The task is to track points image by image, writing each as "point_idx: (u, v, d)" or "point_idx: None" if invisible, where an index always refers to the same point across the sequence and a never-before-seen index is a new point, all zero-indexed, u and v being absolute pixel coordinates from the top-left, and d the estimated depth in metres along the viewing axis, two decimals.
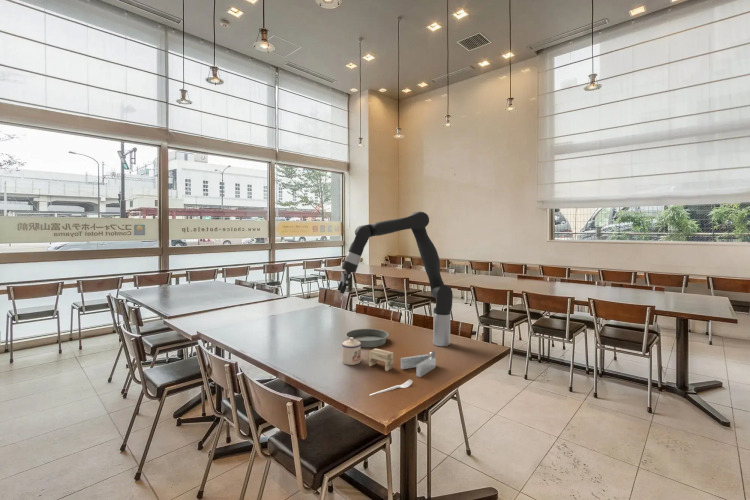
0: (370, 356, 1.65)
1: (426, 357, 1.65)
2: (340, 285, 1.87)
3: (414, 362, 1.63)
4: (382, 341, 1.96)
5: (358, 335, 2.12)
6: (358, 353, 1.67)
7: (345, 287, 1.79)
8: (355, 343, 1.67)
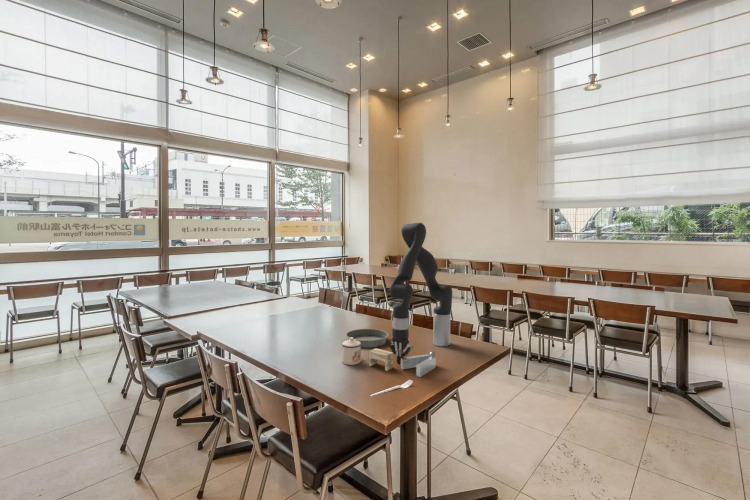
0: (370, 356, 1.65)
1: (426, 357, 1.65)
2: None
3: (414, 362, 1.63)
4: (382, 341, 1.96)
5: (358, 335, 2.12)
6: (358, 353, 1.67)
7: (403, 357, 1.64)
8: (355, 343, 1.67)
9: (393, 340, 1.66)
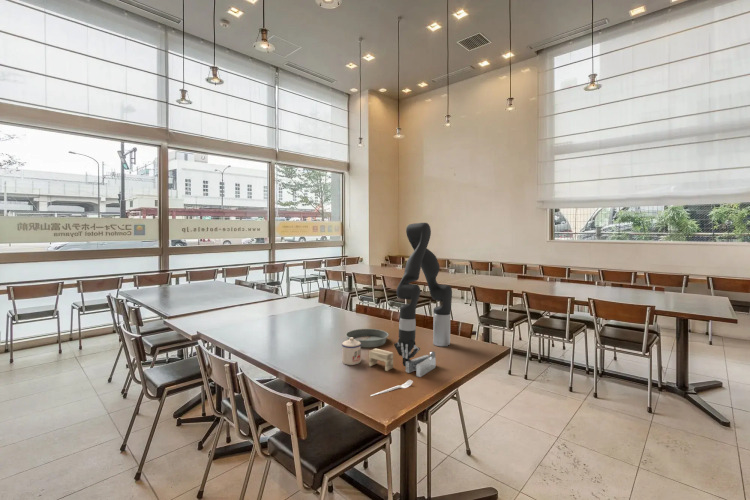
0: (370, 356, 1.65)
1: (427, 358, 1.64)
2: None
3: None
4: (382, 341, 1.96)
5: (358, 335, 2.12)
6: (358, 353, 1.67)
7: (409, 359, 1.61)
8: (355, 343, 1.67)
9: (399, 341, 1.63)
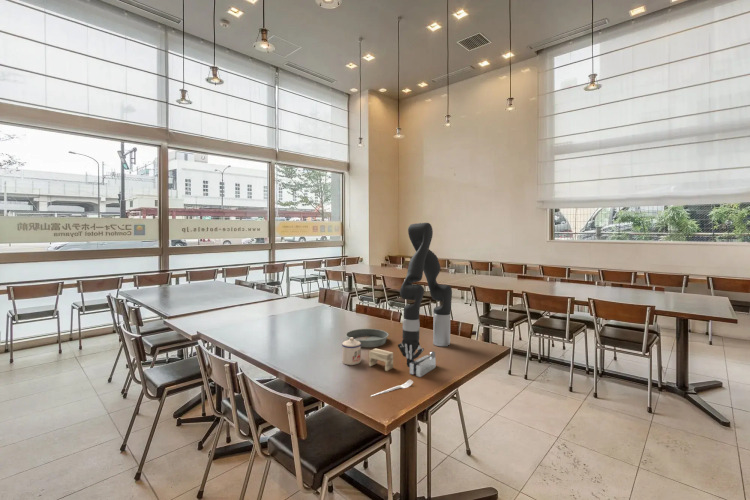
0: (370, 356, 1.65)
1: None
2: None
3: None
4: (382, 341, 1.96)
5: (358, 335, 2.12)
6: (358, 353, 1.67)
7: (413, 359, 1.60)
8: (355, 343, 1.67)
9: (403, 342, 1.61)
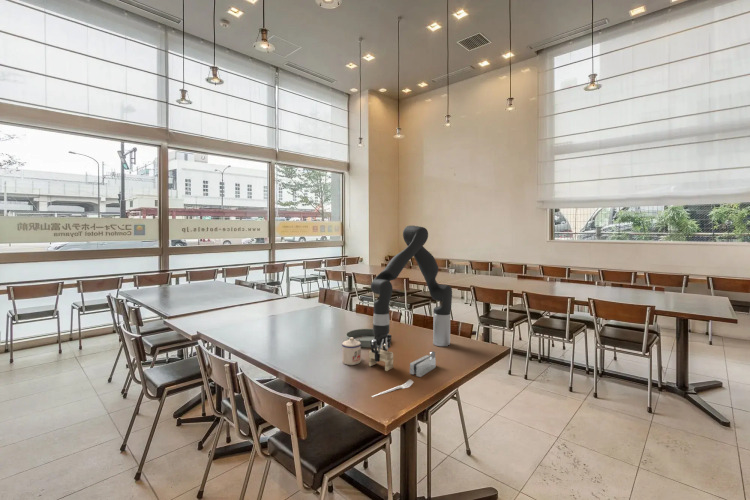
0: (370, 356, 1.64)
1: None
2: None
3: None
4: None
5: (358, 335, 2.12)
6: (358, 353, 1.67)
7: (376, 354, 1.61)
8: (355, 343, 1.67)
9: None
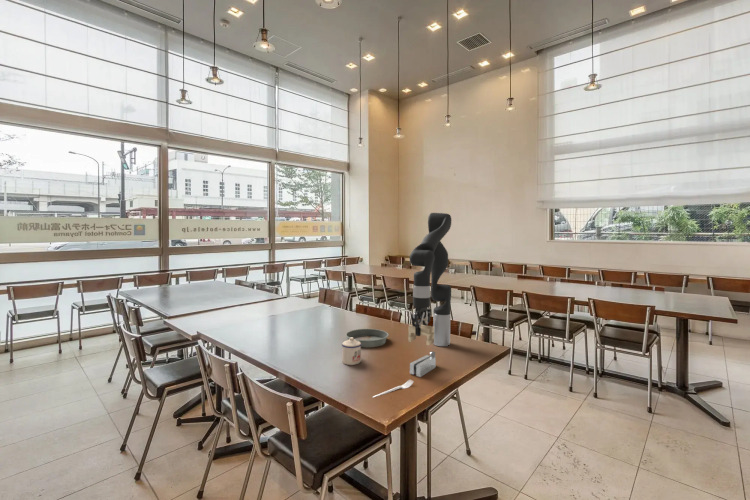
0: (410, 331, 1.57)
1: None
2: None
3: None
4: (382, 341, 1.96)
5: (358, 335, 2.12)
6: (358, 353, 1.67)
7: (417, 328, 1.53)
8: (355, 343, 1.67)
9: None
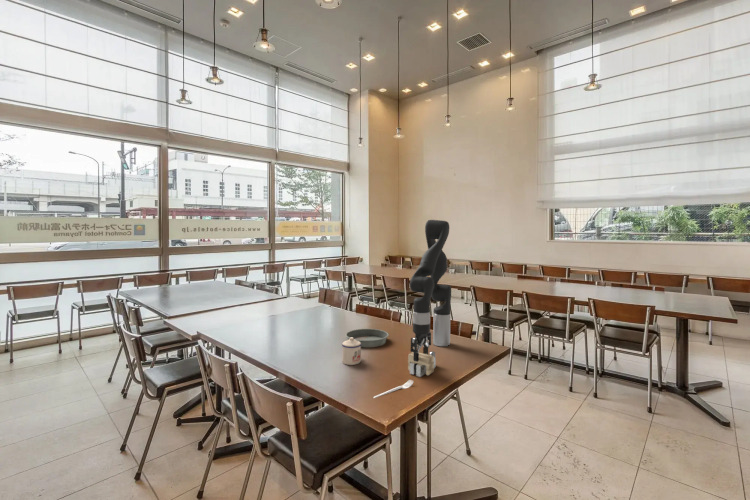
0: (409, 360, 1.58)
1: None
2: (424, 349, 1.61)
3: None
4: (382, 341, 1.96)
5: (358, 335, 2.12)
6: (358, 353, 1.67)
7: (416, 354, 1.53)
8: (355, 343, 1.67)
9: None
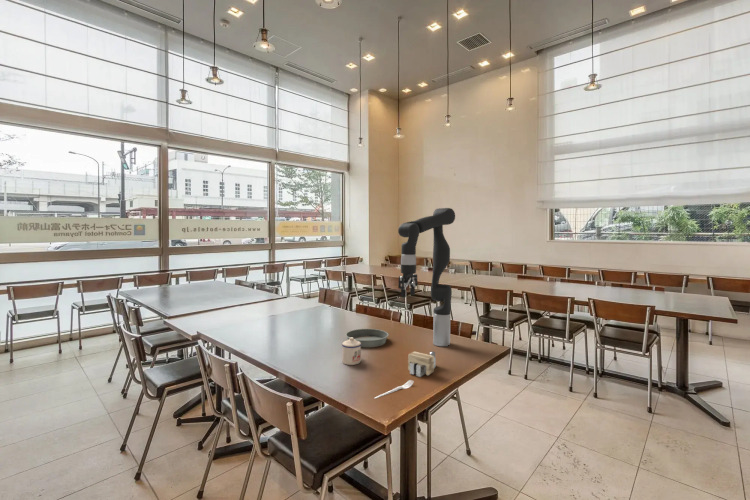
0: (409, 360, 1.58)
1: None
2: (411, 289, 1.81)
3: None
4: (382, 341, 1.96)
5: (358, 335, 2.12)
6: (358, 353, 1.67)
7: (403, 290, 1.73)
8: (355, 343, 1.67)
9: None
